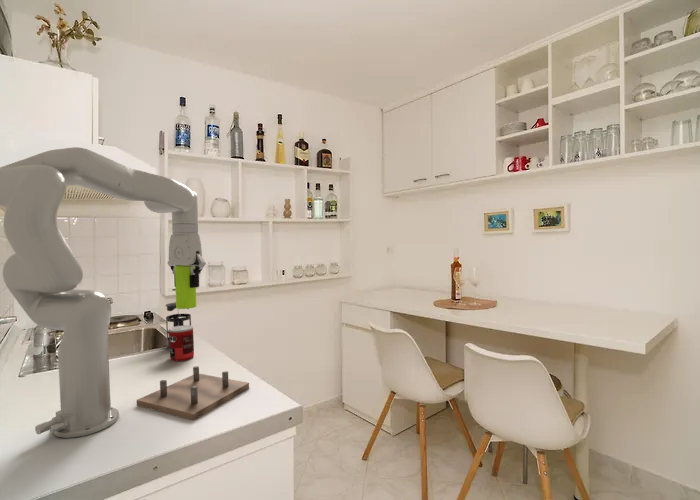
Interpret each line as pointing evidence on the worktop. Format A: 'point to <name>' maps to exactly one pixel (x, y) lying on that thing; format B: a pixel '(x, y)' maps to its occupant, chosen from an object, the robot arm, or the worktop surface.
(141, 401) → the peg stand
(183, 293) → the soap dispenser
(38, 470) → the worktop surface
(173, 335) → the canned food
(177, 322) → the french press
